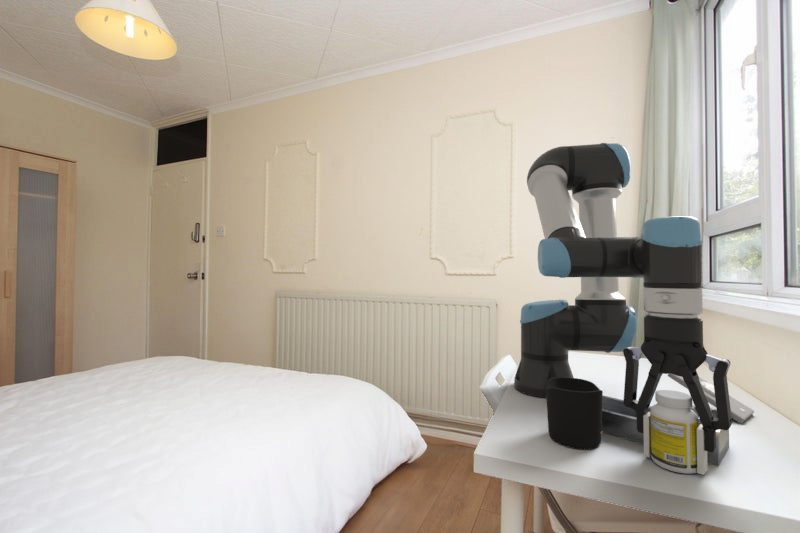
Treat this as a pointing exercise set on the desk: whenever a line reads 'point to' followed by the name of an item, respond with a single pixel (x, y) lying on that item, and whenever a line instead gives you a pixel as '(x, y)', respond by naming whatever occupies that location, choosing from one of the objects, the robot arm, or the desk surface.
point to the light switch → (737, 408)
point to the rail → (625, 426)
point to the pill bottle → (674, 432)
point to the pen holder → (574, 412)
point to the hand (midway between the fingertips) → (674, 461)
